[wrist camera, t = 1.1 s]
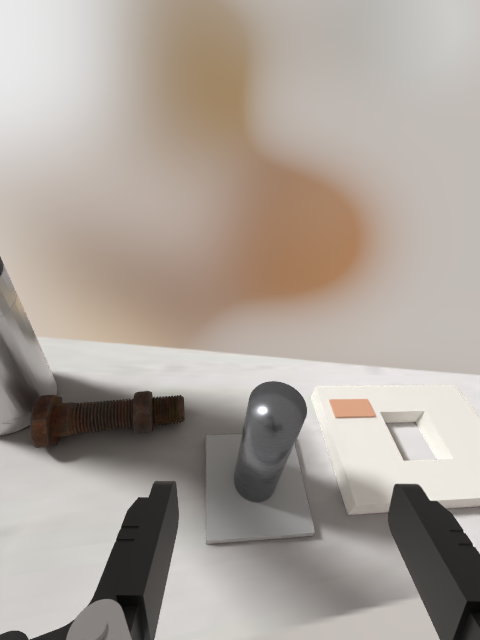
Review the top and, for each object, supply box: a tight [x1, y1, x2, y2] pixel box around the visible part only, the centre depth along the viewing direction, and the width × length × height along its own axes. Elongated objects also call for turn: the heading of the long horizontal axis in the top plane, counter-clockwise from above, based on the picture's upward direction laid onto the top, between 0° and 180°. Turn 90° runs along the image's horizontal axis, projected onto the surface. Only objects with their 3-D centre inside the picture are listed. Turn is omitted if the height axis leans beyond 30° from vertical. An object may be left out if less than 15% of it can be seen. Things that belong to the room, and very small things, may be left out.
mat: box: [206, 434, 315, 544], centre depth 32 cm, size 10×10×1 cm
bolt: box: [30, 391, 184, 447], centre depth 34 cm, size 6×5×15 cm
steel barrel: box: [234, 381, 307, 503], centre depth 27 cm, size 4×4×13 cm
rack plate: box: [311, 385, 480, 515], centre depth 36 cm, size 20×14×3 cm
